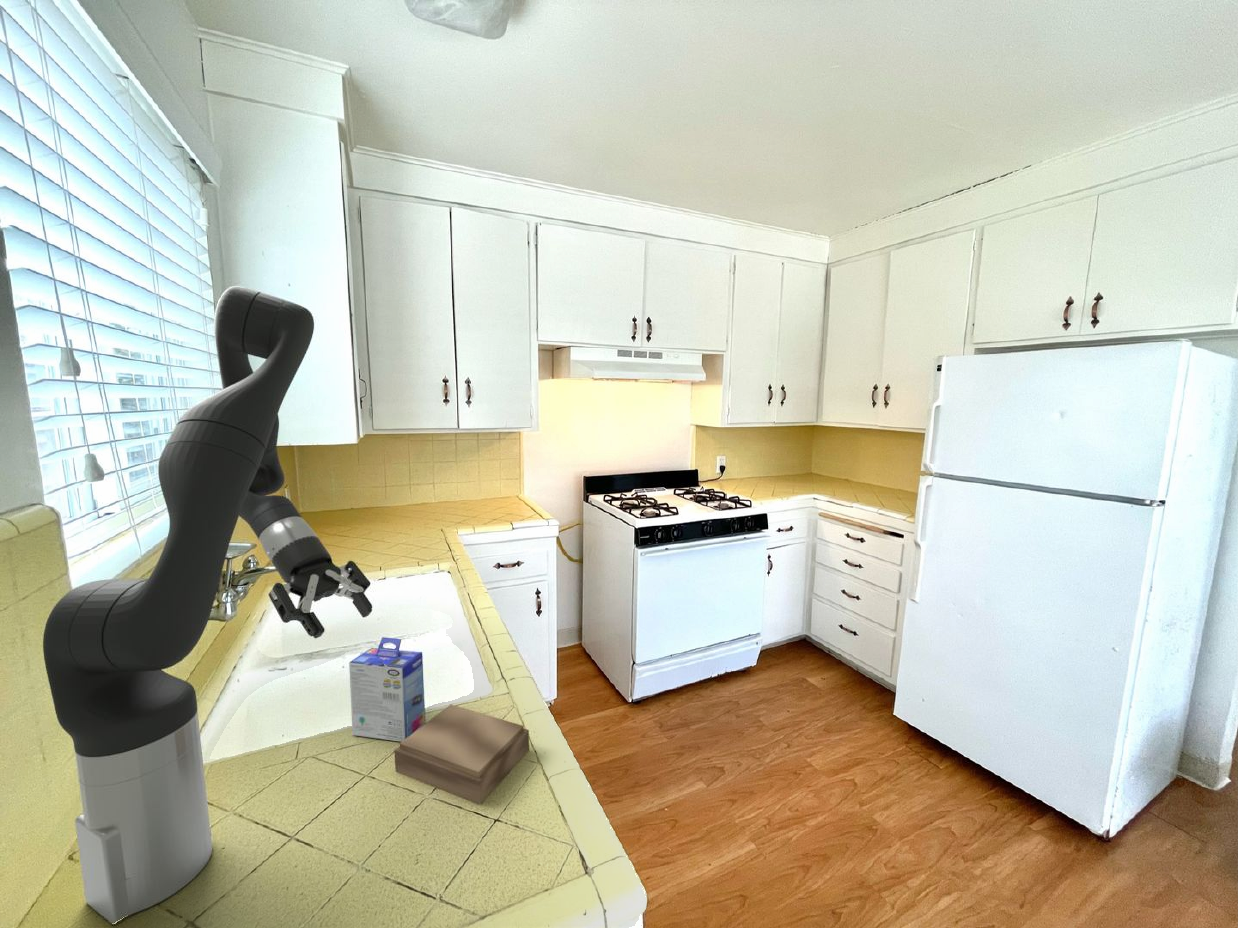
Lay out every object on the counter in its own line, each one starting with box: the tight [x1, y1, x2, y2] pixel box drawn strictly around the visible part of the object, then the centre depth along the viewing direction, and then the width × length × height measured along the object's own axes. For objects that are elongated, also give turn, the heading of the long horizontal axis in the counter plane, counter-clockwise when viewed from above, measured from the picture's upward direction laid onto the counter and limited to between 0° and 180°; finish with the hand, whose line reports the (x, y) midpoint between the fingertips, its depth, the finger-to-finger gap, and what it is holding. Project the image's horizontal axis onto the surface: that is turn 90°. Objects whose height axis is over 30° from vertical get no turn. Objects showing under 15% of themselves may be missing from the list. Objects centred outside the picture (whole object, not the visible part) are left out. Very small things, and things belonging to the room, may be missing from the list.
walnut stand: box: [393, 704, 530, 805], centre depth 69 cm, size 11×15×4 cm
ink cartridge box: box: [348, 636, 427, 743], centre depth 76 cm, size 10×6×14 cm, turn 78°
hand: (345, 624), depth 79 cm, fingers open, 8 cm apart
